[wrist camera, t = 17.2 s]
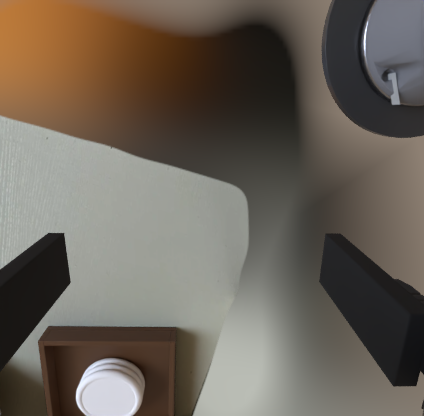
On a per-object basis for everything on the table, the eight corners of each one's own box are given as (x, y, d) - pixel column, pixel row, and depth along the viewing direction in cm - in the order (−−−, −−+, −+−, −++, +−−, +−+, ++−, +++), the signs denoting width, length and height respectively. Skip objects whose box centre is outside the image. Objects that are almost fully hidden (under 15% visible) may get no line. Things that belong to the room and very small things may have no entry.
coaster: (155, 370, 50) (153, 388, 46) (129, 412, 52) (124, 433, 48) (97, 346, 48) (90, 364, 44) (72, 392, 50) (64, 412, 47)
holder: (176, 327, 48) (175, 341, 45) (174, 421, 54) (173, 440, 51) (48, 326, 47) (37, 341, 44) (59, 423, 53) (51, 442, 50)
